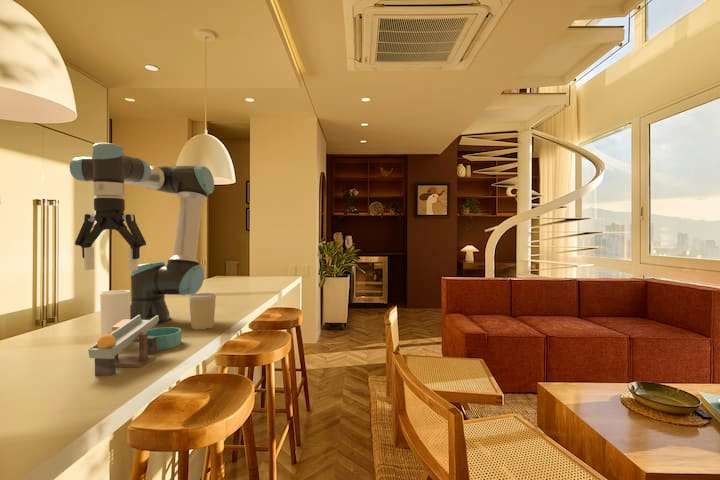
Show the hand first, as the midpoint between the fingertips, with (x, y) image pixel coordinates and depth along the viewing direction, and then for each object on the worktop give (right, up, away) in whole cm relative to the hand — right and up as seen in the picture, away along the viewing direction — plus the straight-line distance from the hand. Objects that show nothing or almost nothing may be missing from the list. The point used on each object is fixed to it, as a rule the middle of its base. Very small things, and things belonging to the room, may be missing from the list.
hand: (111, 269), depth 110 cm
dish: (+11, -25, +8) cm, 28 cm away
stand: (+10, -25, -7) cm, 28 cm away
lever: (+7, -19, -7) cm, 22 cm away
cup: (-7, -24, +13) cm, 29 cm away
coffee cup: (+14, -24, +31) cm, 41 cm away
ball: (+9, -17, -15) cm, 25 cm away
